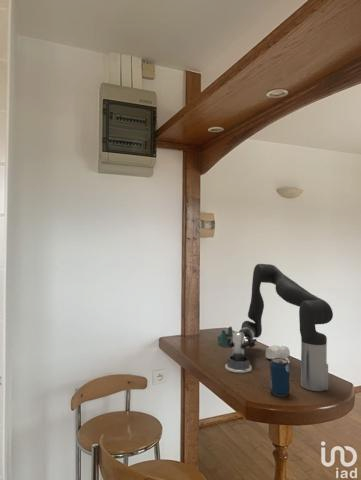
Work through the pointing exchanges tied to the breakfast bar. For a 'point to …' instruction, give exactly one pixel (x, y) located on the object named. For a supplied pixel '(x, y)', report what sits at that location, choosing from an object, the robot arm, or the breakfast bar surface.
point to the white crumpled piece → (277, 352)
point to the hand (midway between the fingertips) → (237, 346)
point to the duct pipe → (238, 346)
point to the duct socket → (238, 365)
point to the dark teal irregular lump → (225, 337)
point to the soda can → (279, 377)
